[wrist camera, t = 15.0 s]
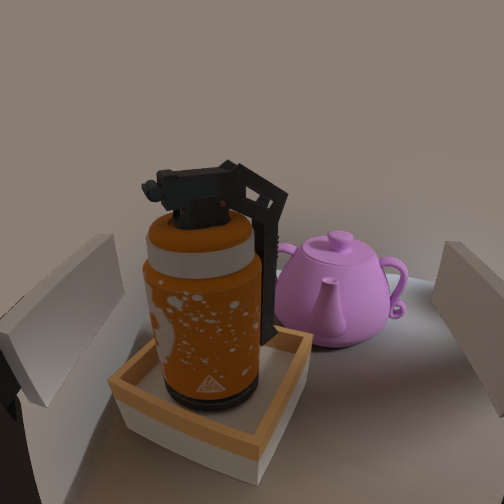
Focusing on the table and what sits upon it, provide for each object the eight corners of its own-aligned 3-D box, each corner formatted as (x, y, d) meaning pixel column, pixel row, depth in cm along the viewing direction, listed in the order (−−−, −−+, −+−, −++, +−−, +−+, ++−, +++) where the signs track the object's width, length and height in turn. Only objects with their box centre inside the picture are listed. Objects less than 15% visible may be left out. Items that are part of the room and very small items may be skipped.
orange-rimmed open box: (196, 351, 41) (191, 303, 38) (305, 383, 35) (313, 334, 32) (127, 427, 28) (107, 379, 25) (257, 486, 23) (259, 446, 20)
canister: (156, 363, 31) (126, 163, 23) (253, 338, 36) (255, 152, 28) (180, 428, 24) (138, 183, 16) (295, 390, 28) (316, 167, 20)
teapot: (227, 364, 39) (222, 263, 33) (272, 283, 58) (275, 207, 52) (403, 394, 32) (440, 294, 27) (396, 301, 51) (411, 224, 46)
